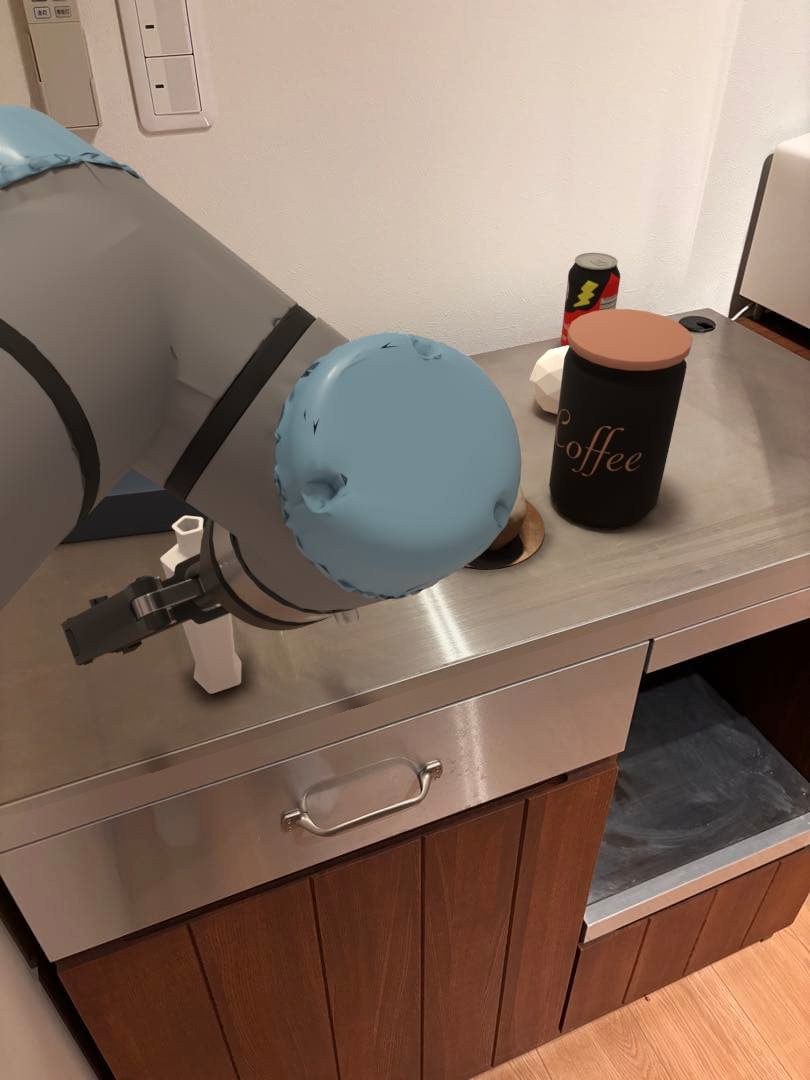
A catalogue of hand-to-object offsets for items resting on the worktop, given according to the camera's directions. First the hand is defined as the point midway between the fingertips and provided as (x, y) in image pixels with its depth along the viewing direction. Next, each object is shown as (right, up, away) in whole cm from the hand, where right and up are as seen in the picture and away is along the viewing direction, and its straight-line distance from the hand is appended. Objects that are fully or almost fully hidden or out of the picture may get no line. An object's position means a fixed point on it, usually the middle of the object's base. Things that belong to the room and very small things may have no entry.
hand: (221, 595), depth 58 cm
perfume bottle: (-2, -7, +10) cm, 12 cm away
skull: (+20, +5, +25) cm, 32 cm away
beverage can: (+36, +28, +54) cm, 71 cm away
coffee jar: (+32, +8, +28) cm, 43 cm away
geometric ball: (+31, +19, +42) cm, 55 cm away
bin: (-14, +9, +31) cm, 35 cm away
